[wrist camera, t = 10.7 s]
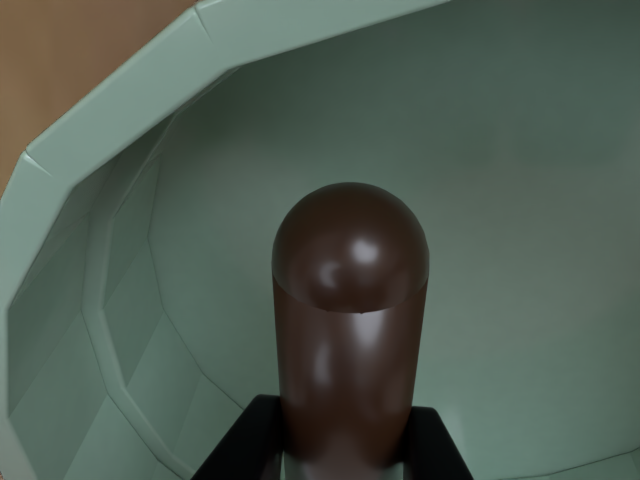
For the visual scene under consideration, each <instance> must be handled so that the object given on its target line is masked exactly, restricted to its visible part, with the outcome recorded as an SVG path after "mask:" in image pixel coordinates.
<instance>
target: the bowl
mask: <svg viewBox="0 0 640 480" xmlns="http://www.w3.org/2000/svg"><path fill="white" fill-rule="evenodd" d="M342 182H359V183H366V184H371V185H374V186H377V187H380V188H382V189H384V190H386V191H388V192H390V193H391V194H393V195H395V196H396V197H398V198H399V199H401V200H402V201H403V202H404V203H405V204H406V205H407V206H408V208H409V209H410V210H411V211H412V212H413V213H414V214H415V216H416V218H417V219H418V221H419V223H420V225H421V226H422V228H423V230H424V232H425V236H426V240H427V244H428V248H429V253H430V266H429V278H428V286H427V294H426V301H425V309H424V317H423V325H422V332H421V340H420V348H419V356H418V363H417V371H416V379H415V387H414V394H413V402H412V406H425V407H433V408H434V409H436V411H437V412H438V414H439V415H440V417H441V419H442V421H443V423H444V425H445V426H446V428H447V430H448V432H449V434H450V436H451V437H452V439H453V441H454V443H455V445H456V447H457V449H458V450H459V452H460V454H461V456H462V458H463V460H464V461H465V463H466V465H467V467H468V469H469V471H470V472H471V474H472V476H473V478H474V480H640V0H197V1H196V2H195V3H194V4H192V5H191V6H190V7H189V8H188V9H186V10H185V11H184V12H183V13H182V14H180V15H179V16H178V17H177V18H176V19H175V20H173V21H172V22H171V23H170V24H169V25H168V26H166V27H165V28H164V29H163V30H162V31H160V32H159V33H158V34H157V35H156V36H155V37H153V38H152V39H151V40H150V41H149V42H148V43H146V44H145V45H144V46H143V47H142V48H140V49H139V50H138V51H137V52H136V53H135V54H133V55H132V56H131V57H130V58H129V59H128V60H126V61H125V62H124V63H123V64H122V65H120V66H119V67H118V68H117V69H116V70H115V71H113V72H112V73H111V74H110V75H109V76H108V77H106V78H105V79H104V80H103V81H102V82H100V83H99V84H98V85H97V86H96V87H95V88H93V89H92V90H91V91H90V92H89V93H88V94H86V95H85V96H84V97H83V98H82V99H80V100H79V101H78V102H77V103H76V104H75V105H73V106H72V107H71V108H70V109H69V110H68V111H66V112H65V113H64V114H63V115H62V116H60V117H59V118H58V119H57V120H56V121H55V122H53V123H52V124H51V125H50V126H49V127H48V128H46V129H45V130H44V131H43V132H42V133H40V134H39V135H38V136H37V137H36V138H35V139H33V140H32V141H31V142H30V143H29V144H28V145H27V148H26V149H25V150H24V151H23V152H22V153H21V154H20V156H19V158H18V160H17V163H16V165H15V167H14V169H13V172H12V174H11V176H10V179H9V181H8V183H7V185H6V188H5V190H4V192H3V194H2V197H1V199H0V473H1V475H2V477H3V479H4V480H190V479H191V478H192V476H193V475H194V474H195V472H196V471H197V470H198V469H199V467H200V466H201V465H202V463H203V462H204V461H205V460H206V458H207V457H208V456H209V454H210V453H211V452H212V451H213V449H214V448H215V447H216V445H217V444H218V443H219V442H220V440H221V439H222V438H223V436H224V435H225V434H226V433H227V431H228V430H229V429H230V427H231V426H232V425H233V424H234V422H235V421H236V420H237V418H238V417H239V416H240V415H241V413H242V412H243V411H244V410H245V408H246V407H247V406H248V404H249V403H250V402H251V401H252V399H253V398H254V397H255V396H256V395H258V394H269V395H279V396H280V391H279V376H278V361H277V345H276V330H275V314H274V299H273V283H272V267H271V261H272V249H273V243H274V239H275V236H276V233H277V230H278V228H279V226H280V224H281V222H282V221H283V219H284V218H285V216H286V214H287V213H288V212H289V211H290V210H291V208H292V207H293V206H294V205H295V204H296V203H297V202H298V201H299V200H301V199H302V198H303V197H305V196H306V195H307V194H309V193H311V192H313V191H315V190H317V189H319V188H321V187H324V186H327V185H330V184H335V183H342ZM280 480H285V469H284V453H283V458H282V465H281V473H280ZM402 480H403V479H402Z"/></svg>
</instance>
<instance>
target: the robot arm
mask: <svg viewBox="0 0 640 480" xmlns="http://www.w3.org/2000/svg"><path fill="white" fill-rule="evenodd" d="M283 450H284V448H283V433H282V417H281V404H280V396H279V395H269V394H258V395H256V396H255V397H254V398H253V399H252V401H251V402H250V403H249V404H248V406H247V407H246V408H245V410H244V411H243V412H242V413H241V415H240V416H239V417H238V418H237V420H236V421H235V422H234V424H233V425H232V426H231V427H230V429H229V430H228V431H227V433H226V434H225V435H224V436H223V438H222V439H221V440H220V442H219V443H218V444H217V445H216V447H215V448H214V449H213V451H212V452H211V453H210V454H209V456H208V457H207V458H206V460H205V461H204V462H203V463H202V465H201V466H200V467H199V469H198V470H197V471H196V472H195V474H194V475H193V476H192V478H191V479H190V480H280V473H281V465H282V458H283ZM403 480H474V478H473V476H472V474H471V472H470V471H469V469H468V467H467V465H466V463H465V461H464V460H463V458H462V456H461V454H460V452H459V450H458V449H457V447H456V445H455V443H454V441H453V439H452V437H451V436H450V434H449V432H448V430H447V428H446V426H445V425H444V423H443V421H442V419H441V417H440V415H439V414H438V412H437V411H436V409H434V408H433V407H425V406H412V408H411V412H410V414H409V419H408V427H407V434H406V442H405V450H404V458H403Z"/></svg>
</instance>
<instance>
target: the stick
mask: <svg viewBox="0 0 640 480" xmlns="http://www.w3.org/2000/svg"><path fill="white" fill-rule="evenodd" d="M429 266H430V253H429V248H428V244H427V240H426V236H425V232H424V230H423V228H422V226H421V225H420V223H419V221H418V219H417V218H416V216H415V214H414V213H413V212H412V211H411V210H410V209H409V208H408V206H407V205H406V204H405V203H404V202H403V201H402V200H401V199H399V198H398V197H396V196H395V195H393V194H391V193H390V192H388V191H386V190H384V189H382V188H380V187H377V186H374V185H371V184H366V183H359V182H342V183H335V184H330V185H327V186H324V187H321V188H319V189H317V190H315V191H313V192H311V193H309V194H307V195H306V196H305V197H303V198H302V199H301V200H299V201H298V202H297V203H296V204H295V205H294V206H293V207H292V208H291V210H290V211H289V212H288V213H287V214H286V216H285V218H284V219H283V221H282V222H281V224H280V226H279V228H278V230H277V233H276V236H275V239H274V243H273V249H272V261H271V267H272V283H273V299H274V314H275V330H276V345H277V361H278V376H279V391H280V404H281V417H282V433H283V448H284V450H283V453H284V469H285V480H402V479H403V458H404V450H405V442H406V434H407V427H408V419H409V414H410V412H411V408H412V402H413V394H414V387H415V379H416V371H417V363H418V356H419V348H420V340H421V332H422V325H423V317H424V309H425V301H426V294H427V286H428V278H429Z"/></svg>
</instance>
